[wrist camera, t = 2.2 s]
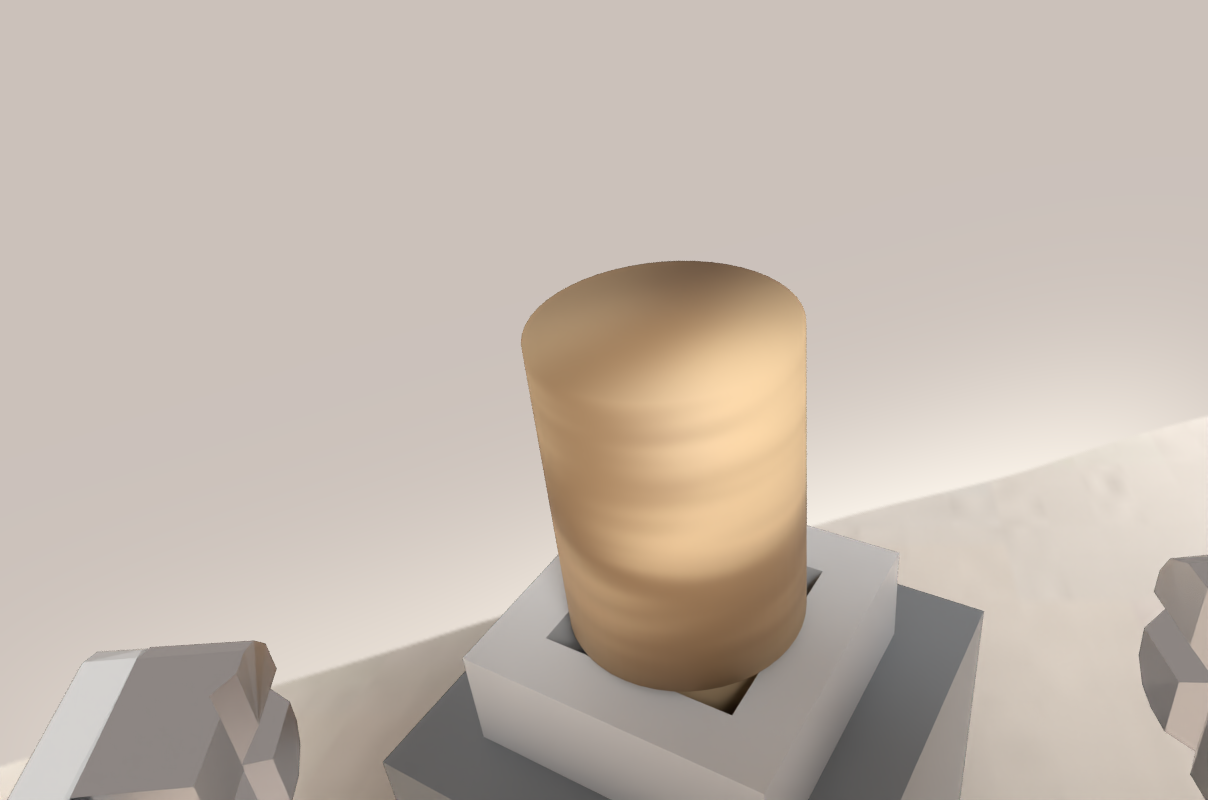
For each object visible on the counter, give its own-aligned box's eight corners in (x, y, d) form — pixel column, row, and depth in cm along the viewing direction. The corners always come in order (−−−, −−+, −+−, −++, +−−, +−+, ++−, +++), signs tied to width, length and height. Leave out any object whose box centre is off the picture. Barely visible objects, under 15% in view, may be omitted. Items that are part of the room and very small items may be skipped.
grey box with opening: (956, 825, 34) (994, 529, 27) (814, 1197, 26) (813, 915, 19) (649, 695, 40) (613, 425, 33) (455, 964, 32) (354, 684, 25)
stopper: (841, 647, 28) (850, 285, 22) (745, 817, 24) (723, 433, 18) (654, 579, 31) (617, 245, 25) (541, 721, 27) (463, 364, 21)
